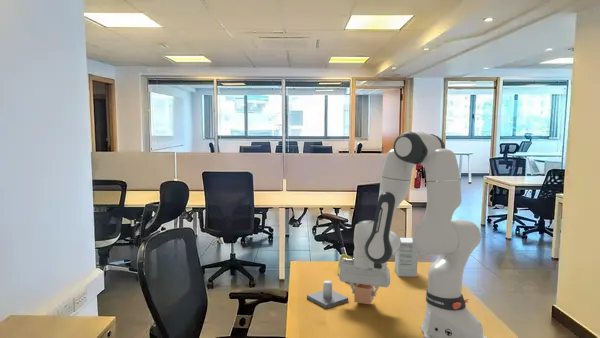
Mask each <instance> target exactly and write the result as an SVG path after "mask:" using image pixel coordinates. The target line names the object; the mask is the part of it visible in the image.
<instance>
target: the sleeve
mask: <svg viewBox="0 0 600 338" xmlns="http://www.w3.org/2000/svg"><path fill="white" fill-rule="evenodd" d="M354 287H355V288H354V295H353V297H354V299H353V300H354V303H358V304H366V305H371V304H372V302H373V301H374V298H375V297H374V296H372V291H375V290H374V289H375V286H372V285H364V284H356V285H355V286H354Z"/></svg>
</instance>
